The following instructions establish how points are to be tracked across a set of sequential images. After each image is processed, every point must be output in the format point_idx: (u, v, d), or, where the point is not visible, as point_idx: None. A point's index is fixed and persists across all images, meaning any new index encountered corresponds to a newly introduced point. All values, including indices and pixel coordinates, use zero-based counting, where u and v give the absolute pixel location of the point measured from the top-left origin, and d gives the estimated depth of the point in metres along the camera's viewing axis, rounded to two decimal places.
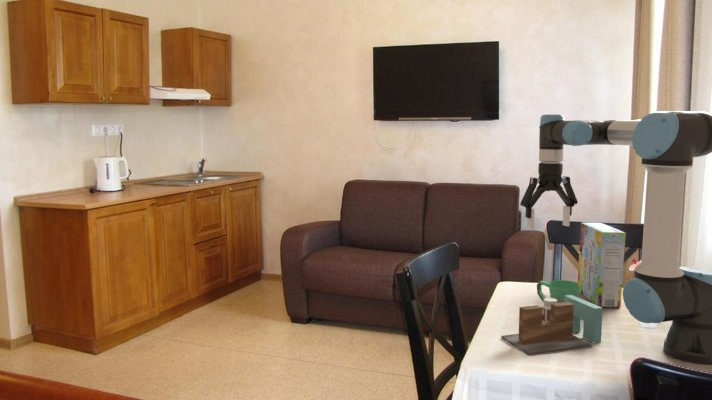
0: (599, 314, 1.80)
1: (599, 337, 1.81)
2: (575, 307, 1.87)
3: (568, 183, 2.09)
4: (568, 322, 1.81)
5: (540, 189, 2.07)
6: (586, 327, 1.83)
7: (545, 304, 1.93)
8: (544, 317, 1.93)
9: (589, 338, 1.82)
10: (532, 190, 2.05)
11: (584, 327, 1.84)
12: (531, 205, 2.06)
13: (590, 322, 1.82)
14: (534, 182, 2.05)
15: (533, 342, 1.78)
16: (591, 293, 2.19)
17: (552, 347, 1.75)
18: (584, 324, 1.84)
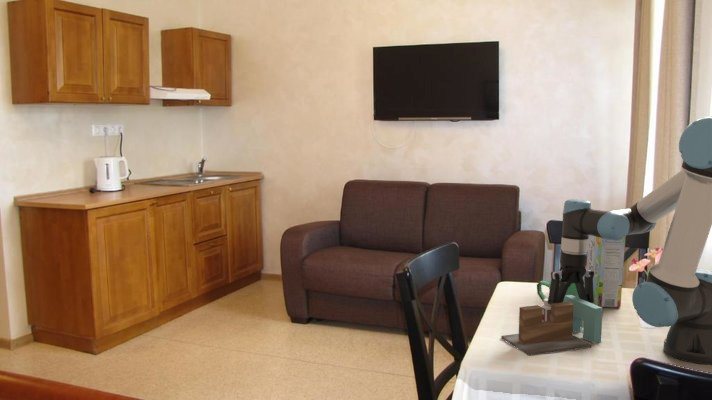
0: (599, 314, 1.80)
1: (599, 337, 1.81)
2: (575, 307, 1.87)
3: (590, 278, 1.90)
4: (568, 322, 1.81)
5: (564, 284, 1.88)
6: (586, 327, 1.83)
7: (545, 304, 1.93)
8: (544, 317, 1.93)
9: (589, 338, 1.82)
10: (557, 287, 1.87)
11: (584, 327, 1.84)
12: None
13: (590, 322, 1.82)
14: (556, 278, 1.86)
15: (533, 342, 1.78)
16: None
17: (552, 347, 1.75)
18: (584, 324, 1.84)
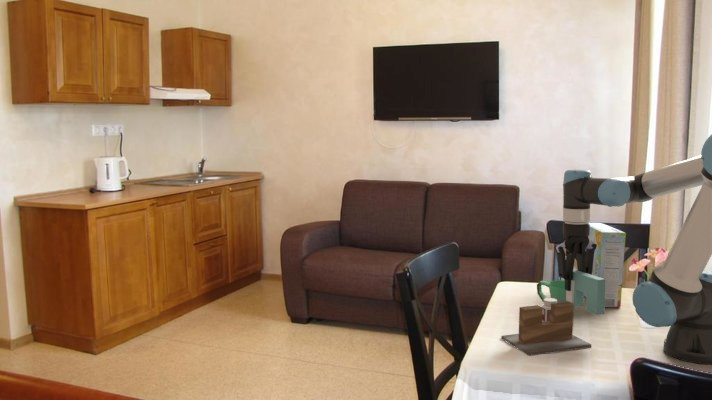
0: (602, 285, 1.78)
1: (602, 309, 1.79)
2: (578, 280, 1.86)
3: (592, 250, 1.89)
4: (568, 322, 1.81)
5: (570, 256, 1.87)
6: (589, 299, 1.82)
7: (545, 304, 1.93)
8: (544, 317, 1.93)
9: (592, 310, 1.80)
10: (563, 260, 1.86)
11: (587, 300, 1.82)
12: (570, 277, 1.87)
13: (593, 294, 1.80)
14: (561, 251, 1.85)
15: (533, 342, 1.78)
16: None
17: (552, 347, 1.75)
18: (587, 297, 1.83)
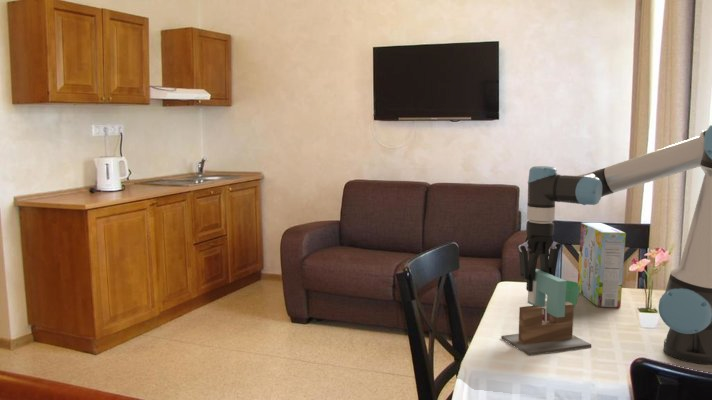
0: (563, 287, 1.72)
1: (563, 311, 1.73)
2: (539, 281, 1.80)
3: (556, 250, 1.82)
4: (568, 322, 1.81)
5: (533, 255, 1.81)
6: (550, 301, 1.75)
7: (545, 304, 1.93)
8: (544, 317, 1.93)
9: (552, 313, 1.74)
10: (525, 259, 1.79)
11: (548, 301, 1.76)
12: (532, 277, 1.81)
13: (553, 296, 1.74)
14: (523, 251, 1.79)
15: (533, 342, 1.78)
16: (591, 293, 2.19)
17: (552, 347, 1.75)
18: (547, 298, 1.76)
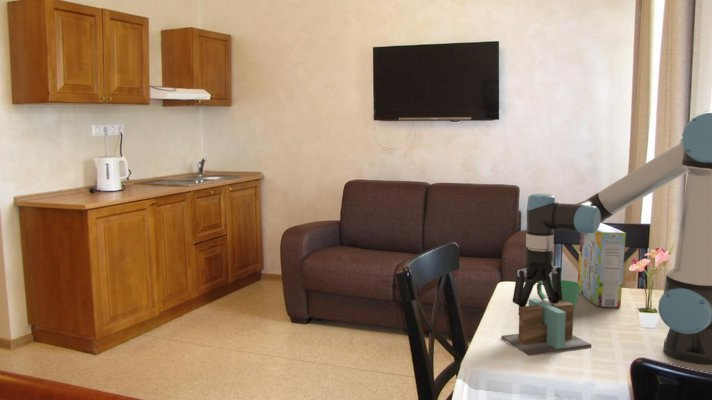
0: (562, 319, 1.73)
1: (562, 343, 1.74)
2: None
3: (558, 275, 1.83)
4: (568, 322, 1.81)
5: (530, 282, 1.81)
6: (549, 332, 1.77)
7: None
8: None
9: (552, 344, 1.75)
10: (521, 285, 1.80)
11: (547, 332, 1.77)
12: (524, 303, 1.81)
13: (553, 327, 1.75)
14: (521, 276, 1.80)
15: (533, 342, 1.78)
16: (591, 293, 2.19)
17: (552, 347, 1.75)
18: (547, 329, 1.77)
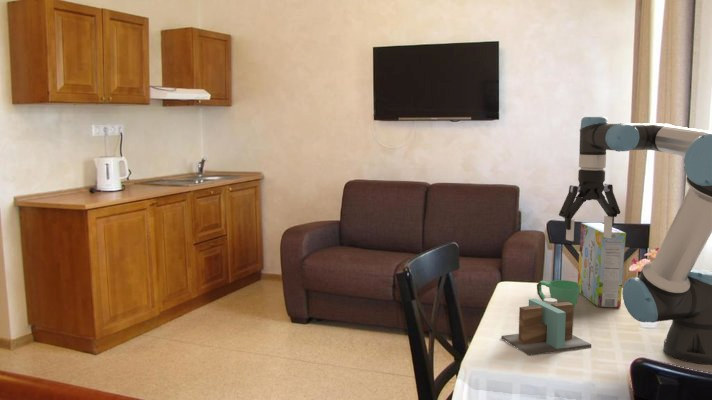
0: (562, 319, 1.73)
1: (562, 343, 1.74)
2: None
3: (610, 191, 1.92)
4: (568, 322, 1.81)
5: (580, 198, 1.90)
6: (549, 332, 1.77)
7: None
8: None
9: (552, 344, 1.75)
10: (572, 199, 1.88)
11: (547, 332, 1.77)
12: (571, 215, 1.89)
13: (553, 327, 1.75)
14: (574, 190, 1.88)
15: (533, 342, 1.78)
16: (591, 293, 2.19)
17: (552, 347, 1.75)
18: (547, 329, 1.77)
